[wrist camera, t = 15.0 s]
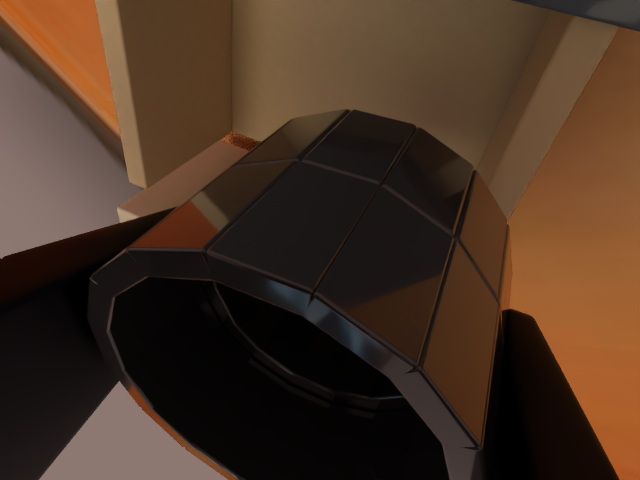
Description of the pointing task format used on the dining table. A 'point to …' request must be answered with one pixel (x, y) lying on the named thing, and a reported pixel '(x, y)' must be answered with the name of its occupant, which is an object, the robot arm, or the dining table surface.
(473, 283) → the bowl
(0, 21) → the dining table surface
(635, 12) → the cabinet
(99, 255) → the robot arm
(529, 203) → the dining table surface
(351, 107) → the drawer
